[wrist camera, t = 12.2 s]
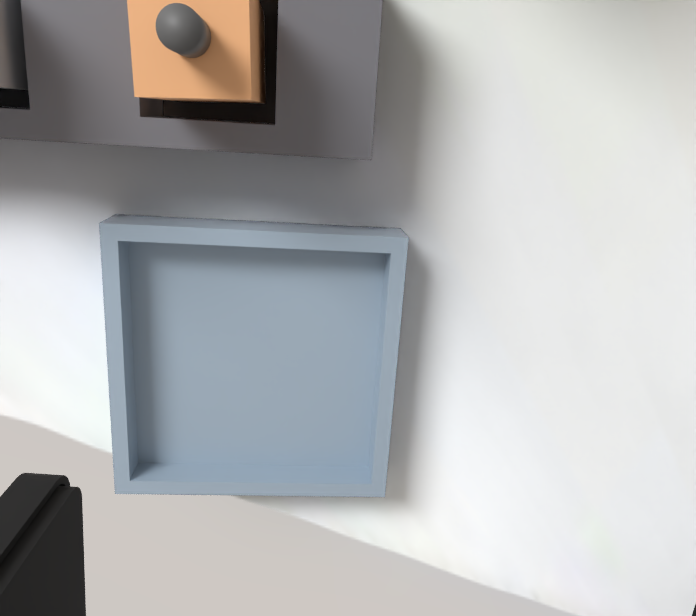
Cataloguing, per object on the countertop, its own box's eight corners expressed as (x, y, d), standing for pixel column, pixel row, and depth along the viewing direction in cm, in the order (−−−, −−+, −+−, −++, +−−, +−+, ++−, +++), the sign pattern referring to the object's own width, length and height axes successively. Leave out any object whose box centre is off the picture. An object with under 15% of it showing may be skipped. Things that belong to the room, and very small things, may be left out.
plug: (264, 14, 29) (242, -43, 18) (265, 103, 30) (246, 98, 20) (177, 11, 29) (105, -49, 18) (182, 101, 30) (117, 95, 19)
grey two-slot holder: (373, -23, 29) (386, -47, 24) (361, 153, 31) (371, 159, 27) (-176, -69, 27) (-267, -104, 22) (-144, 123, 29) (-221, 125, 25)
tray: (400, 228, 32) (408, 238, 30) (379, 471, 37) (384, 496, 34) (115, 214, 31) (99, 223, 29) (128, 467, 36) (115, 493, 33)
